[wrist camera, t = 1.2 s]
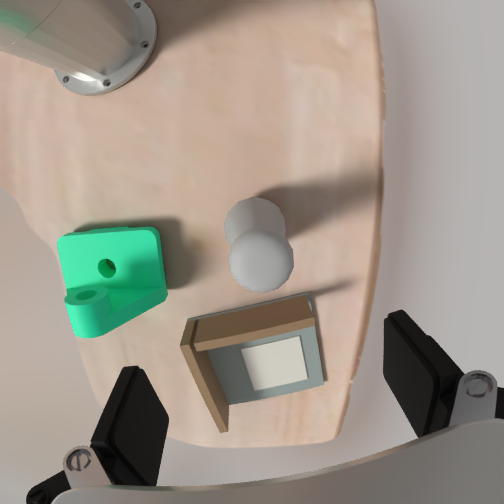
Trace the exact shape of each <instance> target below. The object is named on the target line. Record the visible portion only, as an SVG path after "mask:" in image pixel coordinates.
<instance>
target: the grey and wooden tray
mask: <svg viewBox="0 0 504 504" xmlns="http://www.w3.org/2000/svg"><path fill="white" fill-rule="evenodd" d="M315 326H316V325H315V319H314V315H313V313H312V308H311V302H310V297H309V293H308V292H305V293H301V294H297V295H293V296H288V297H284V298H280V299H276V300H272V301H268V302H263V303H259V304H255V305H250V306H246V307H242V308H237V309H233V310H228V311H223V312H219V313H214V314H209V315H205V316H200V317H195V318H190V319H188V320H187V323H186V326H185V330H184V333H183V336H182V340H181V343H180V348H181V350H182V353H183V355H184V357H185V360H186V362H187V364H188V367H189V369H190V371H191V373H192V375H193V378H194V380H195V382H196V384H197V386H198V388H199V391H200V393H201V395H202V397H203V399H204V401H205V403H206V405H207V407H208V409H209V411H210V413H211V415H212V417H213V419H214V421H215V423H216V425H217V427H218V429H219V431H220V433H222V432H228V420H229V405H231V404H238V403H243V402H249V401H254V400H260V399H265V398H270V397H275V396H279V395H284V394H288V393H293V392H297V391H301V390H305V389H309V388H313V387H317V386H321V385H324V381H323V374H322V368H321V361H320V355H319V349H318V343H317V337H316V331H315Z"/></svg>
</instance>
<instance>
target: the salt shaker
mask: <svg viewBox="0 0 504 504" xmlns="http://www.w3.org/2000/svg"><path fill="white" fill-rule="evenodd" d="M224 225H225V234H226V239H227V241H228V242H229V244H230V246H231V250H230V253H229V265H230V271H231V273H232V275H233V276H234V278H235V279H236V281H237V282H238V284H239V285H241V286H243V287H244V288H246V289H248V290H249V291H251V292H262V293H265V292H269V291H272V290H275V289H278V288H279V287H280V286H281V285H283V284H284V283H285V282H286V281H287V280H288V279H289V276H290V274H291V272H292V270H293V267H294V260H293V249H292V248H291V246H290V244H289V242H288V241H287V239H286V237H285V235H286V226H285V218H284V216H283V214H282V212H281V211H280V209H279V207H278V206H277V205H275V204H273V203H272V202H270V201H269V200H267V199H263V198H256V197H251V198H248V199H245V200H242V201H240V202H238V203H237V204H236V205H235V206H234V207H233V208H232V209H231V210H230V211H229V212H228V215H227V218H226V221H225V224H224Z"/></svg>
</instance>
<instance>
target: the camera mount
mask: <svg viewBox="0 0 504 504" xmlns="http://www.w3.org/2000/svg"><path fill="white" fill-rule="evenodd" d="M57 247H58V252H59V257H60V262H61V267H62V271H63V276H64V280H65V284H66V288H67V296H66V297H65V304H66V308H67V311H68V314H69V318H70V321H71V325H72V328H73V331H74V333H75V335H77V336H78V337H81V338H94V337H98V336H101V335H104V334H106V333H108V332H110V331H111V330H113V329H115V328H117V327H119V326H120V325H122V324H124V323H126V322H128V321H129V320H131V319H133V318H135V317H137V316H138V315H140V314H142V313H144V312H146V311H147V310H149V309H151V308H153V307H155V306H156V305H158V304H160V303H162V302H163V301H165V299H166V297H167V295H168V293H167V286H166V279H165V272H164V265H163V257H162V249H161V241H160V234H159V232H158V230H157V229H155V228H154V227H150V226H149V227H135V228H129V226H125V227H112V228H100V229H91V230H90V231H85V232H73V233H67V234H66V235H64V236H62V237H60V238H59V239H58V242H57ZM106 259H109V260H111V261H112V262H113V263H114V264H115V267H116V270H113V269H111V268H110V267H109V266H108V264H107V261H106Z"/></svg>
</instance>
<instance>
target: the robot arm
mask: <svg viewBox="0 0 504 504" xmlns="http://www.w3.org/2000/svg"><path fill="white" fill-rule="evenodd" d="M156 38H157V22H156V19H155V16H154V14H153V12H152V11H151V9H150V8H149V6H148V5H147V4H146V3H145V2H143V1H142V0H0V51H3V52H6V53H9V54H12V55H15V56H18V57H21V58H24V59H27V60H30V61H33V62H35V63H38V64H41V65H44V66H46V67H49V68H52V69H54V71H55V74H56V77H57V79H58V81H59V82H60V83H61V84H62V85H63V87H65V88H66V89H68V90H69V91H71V92H74V93H77V94H81V95H85V96H95V95H100V94H105V93H107V92H110V91H113V90H115V89H117V88H118V87H120V86H122V85H124V84H125V83H126V82H128V81H129V80H130V79H131V78H133V77H134V76H135V75H136V74H137V73H138V72H139V71H140V70H141V68H142V67H143V66H144V64H145V63H146V62H147V60H148V59H149V57H150V55H151V53H152V51H153V48H154V45H155V42H156ZM146 45H148V46H147V47H146V48H145V46H146ZM109 83H110V85H109V86H108V84H109ZM383 374H384V378H385V380H386V381H387V383H388V385H389V387H390V389H391V390H392V392H393V394H394V395H395V397H396V399H397V401H398V403H399V404H400V406H401V408H402V410H403V411H404V413H405V415H406V417H407V418H408V420H409V422H410V424H411V426H412V428H413V429H414V431H415V433H416V435H417V437H418V439H415V440H413V441H410V442H407V443H405V444H402V445H399V446H396V447H394V448H391V449H388V450H385V451H382V452H379V453H376V454H373V455H370V456H367V457H364V458H360V459H357V460H353V461H350V462H346V463H343V464H339V465H336V466H331V467H327V468H323V469H319V470H314V471H310V472H305V473H300V474H295V475H290V476H284V477H279V478H272V479H266V480H259V481H251V482H243V483H233V484H222V485H207V486H182V487H181V486H173V487H171V486H165V487H164V486H156V484H157V479H158V474H159V468H160V464H161V458H162V453H163V448H164V443H165V439H166V434H167V429H168V424H169V417H168V414H167V412H166V410H165V409H164V407H163V405H162V403H161V401H160V400H159V398H158V396H157V394H156V392H155V390H154V389H153V387H152V385H151V383H150V381H149V379H148V377H147V375H146V373H145V371H144V370H143V369H140V368H139V367H138V366H128V367H123V369H122V370H121V373H120V375H119V377H118V379H117V381H116V383H115V386H114V388H113V390H112V392H111V395H110V397H109V399H108V401H107V404H106V406H105V408H104V410H103V413H102V415H101V417H100V420H99V422H98V425H97V427H96V429H95V431H94V434H93V436H92V439H91V445H90V447H88V446H77V447H75V448H73V449H71V450H70V451H69V452H68V453H67V454H66V455H65V457H64V459H63V468H64V470H63V471H61V472H59V473H57V474H56V475H54V476H52V477H51V478H49V479H47V480H45V481H43V482H41V483H40V484H38V485H36V486H34V487H33V488H31V490H30V491H29V492H28V494H27V498H26V503H27V504H504V388H500V387H497V381H496V379H495V378H494V377H493V376H492V375H491V374H490V373H488V372H486V371H481V370H475V371H471V372H468V373H467V374H464V373H463V372H462V371H461V369H460V368H459V367H458V366H457V365H456V364H455V362H453V360H452V359H451V358H450V357H449V356H448V355H447V353H446V352H445V351H444V350H443V349H442V348H441V347H440V346H439V345H438V343H437V342H436V341H435V340H434V339H433V338H432V337H431V336H429V335H426V334H425V333H424V332H423V331H422V330H421V328H420V327H418V325H417V324H416V323H415V322H414V321H413V320H412V319H411V318H410V317H409V315H408V314H407V313H406V312H405V311H404V310H398V311H395V312H392V313H389V314H388V318H386V319H384V360H383Z"/></svg>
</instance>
